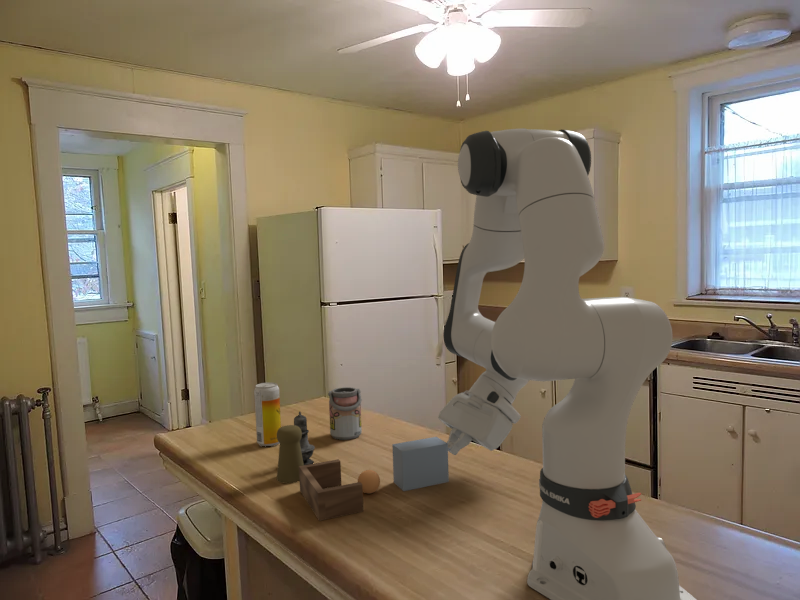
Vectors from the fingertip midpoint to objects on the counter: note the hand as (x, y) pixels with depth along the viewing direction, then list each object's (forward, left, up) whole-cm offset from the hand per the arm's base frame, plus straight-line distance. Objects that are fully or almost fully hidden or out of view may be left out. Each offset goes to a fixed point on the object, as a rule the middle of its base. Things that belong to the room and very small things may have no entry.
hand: (449, 451), depth 118 cm
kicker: (0, +7, -5) cm, 8 cm away
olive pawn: (+15, +30, -5) cm, 34 cm away
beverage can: (+36, +11, -5) cm, 38 cm away
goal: (0, +25, -5) cm, 26 cm away
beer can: (+40, +30, -5) cm, 50 cm away
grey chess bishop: (+22, +26, -5) cm, 34 cm away
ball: (0, +18, -5) cm, 19 cm away
